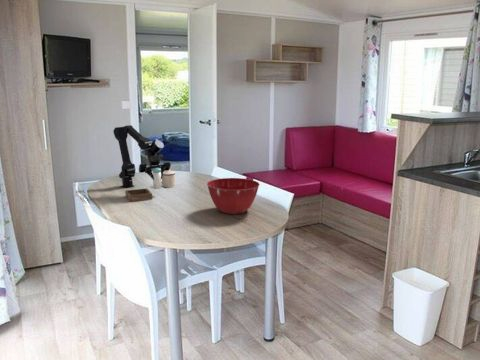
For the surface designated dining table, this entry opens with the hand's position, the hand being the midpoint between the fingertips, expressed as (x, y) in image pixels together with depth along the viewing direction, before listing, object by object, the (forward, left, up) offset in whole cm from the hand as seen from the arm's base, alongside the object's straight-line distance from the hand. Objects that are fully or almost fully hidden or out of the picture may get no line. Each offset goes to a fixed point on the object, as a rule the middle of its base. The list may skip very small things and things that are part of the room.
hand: (157, 178), depth 261 cm
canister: (-1, +1, -6) cm, 6 cm away
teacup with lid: (-16, +24, -12) cm, 31 cm away
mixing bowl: (+51, +6, -12) cm, 53 cm away
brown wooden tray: (-7, -9, -12) cm, 16 cm away
